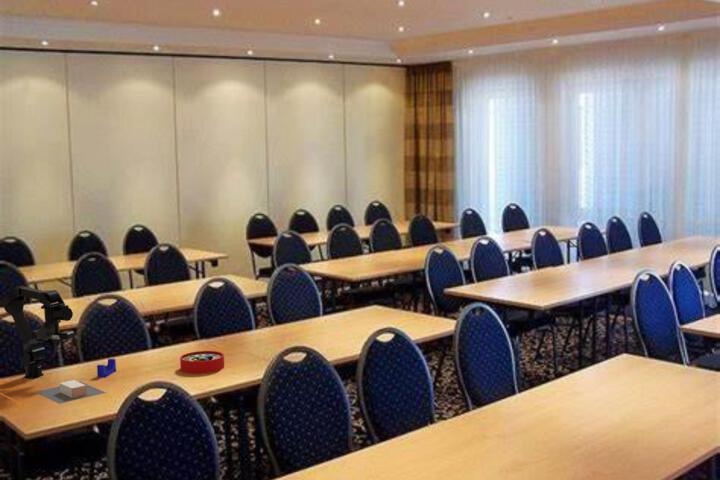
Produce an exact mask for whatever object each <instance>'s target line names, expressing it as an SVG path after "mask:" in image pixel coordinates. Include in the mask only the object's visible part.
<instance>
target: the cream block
mask: <svg viewBox="0 0 720 480" xmlns="http://www.w3.org/2000/svg"><path fill="white" fill-rule="evenodd" d="M79 382H80V381H77V380H75V379H73V380H68V381H63V382H59V386H60V392H61V393H63V394H65V395H67V396H69V397H72V398H76V397H80V396H85V395H87V385H88V384H87V385H84V384H82V383H83V382H82V383H79Z"/></svg>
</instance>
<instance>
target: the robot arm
mask: <svg viewBox="0 0 720 480" xmlns="http://www.w3.org/2000/svg"><path fill="white" fill-rule="evenodd" d="M26 298H29V299H32V300H37V301H38V302H39V303H40V304H42V305H41V306H40V309H41V310H43V312H44V313H43V314H44V322H42V326H41V327H40V328H39V329H36V330H34V331H32V329H31V327H30V324H29V322H28V320H27V317H26V316H25V313H24V307H25V304H24V301H25V300H26ZM1 305H2V307H3V308H4V311H5V312H6V313H7V314H9V315H10V316H11V317H12V319H13V321H14V323H15V327H16V328H17V331H18V334H19V336H20V337H21V341H22V342H23V350H22V351H23V356H22V357H21V359H20V363H21V366H24V376H22V378H24V379H37V378H40V377H41V376H44V374H45V373H43V369H42V365H41V363H42V362H45V361H44V360H45V356H46V350H45V347H44V344H43V342H42V341H44V342H46V343H47V345H48V347H49V349H50V352H51V353H52V355H56V353H57V351H58V348H59V347H60V346H59V345H60V343H61V342H62V341H63V340H64V341H68V340H71V339H73V338H75V337H76V335H75V332H74V331H73V330H65V331H62V328H60V323H61V322H62V321H63V322H64V321H65V322H68V321H70V320H71V319H72V318H73V316H74V312H73V310H72V309H71V308H70V307H69V304H66V303H65V301H64V300H63V298H62V296H61V295H60V293H59V291H58V290H56V289H50V290H42V289H37V288H33V287H28V286H27V285H21V286H17V287H15V288H14V289H13V290H12V291H10V292H9V293H8V294H7V295H5V296H4V297H3V298H2V301H1ZM36 339H38V340H40V339H41V340H42V341H38V340H36Z"/></svg>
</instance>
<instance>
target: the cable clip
mask: <svg viewBox="0 0 720 480" xmlns="http://www.w3.org/2000/svg"><path fill="white" fill-rule="evenodd" d="M96 371H97V374H96V375H97V378H103V379H106V378H107V377H109V376H111V375H113V374H114V373H116V372H117V361H116V358H108V359H107V364H97V365H96Z"/></svg>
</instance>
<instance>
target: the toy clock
mask: <svg viewBox="0 0 720 480" xmlns="http://www.w3.org/2000/svg"><path fill="white" fill-rule="evenodd" d="M179 360H180V361H179V362H180V363H179V365H180V371H181V372H183V373H184V372H185V373H184V374H190V373H191V374H190V375H193V374H194V375H203V374H202V373H204V374H211V373H215V371H216V372H219V371H222V370H223V369H224V368H225V367H224V366H225V354H224V353H223V352H221V351H217V350H198V351H191V352H188V353H184V354H182V355H180V356H179ZM221 369H222V370H221ZM210 372H211V373H210Z"/></svg>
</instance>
